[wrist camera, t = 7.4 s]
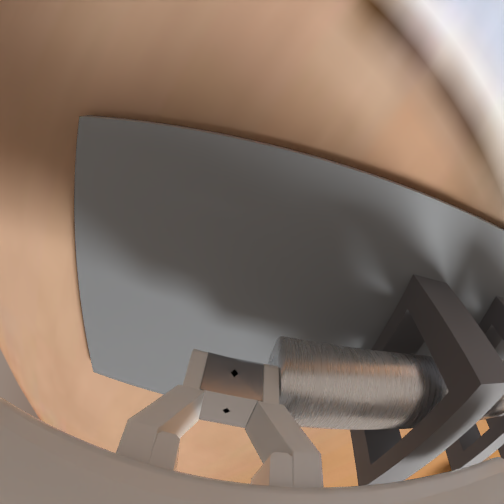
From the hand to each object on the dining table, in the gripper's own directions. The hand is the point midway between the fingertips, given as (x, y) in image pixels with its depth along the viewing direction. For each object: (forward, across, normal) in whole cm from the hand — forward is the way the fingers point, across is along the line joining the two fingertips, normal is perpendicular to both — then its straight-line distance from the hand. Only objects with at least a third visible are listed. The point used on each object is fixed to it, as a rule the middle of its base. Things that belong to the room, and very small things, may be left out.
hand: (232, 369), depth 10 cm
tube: (+2, -11, 0) cm, 12 cm away
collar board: (+4, -8, 0) cm, 9 cm away
